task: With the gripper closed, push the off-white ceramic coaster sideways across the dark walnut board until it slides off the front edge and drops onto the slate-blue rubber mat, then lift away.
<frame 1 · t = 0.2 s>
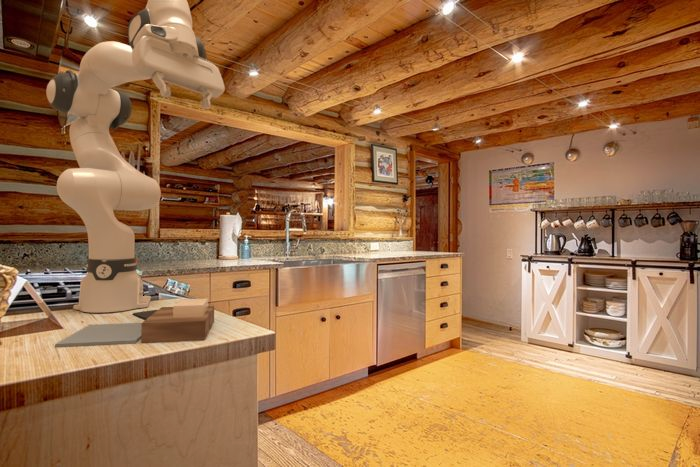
hand: (187, 101, 85), 52 cm above the worktop, tool tilted 20°, fingers open, 8 cm apart
smartphone: (156, 319, 98), on the worktop
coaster: (191, 307, 85), point 5 cm above the worktop, touching deck
mat: (111, 334, 81), on the worktop
deck: (181, 331, 85), on the worktop
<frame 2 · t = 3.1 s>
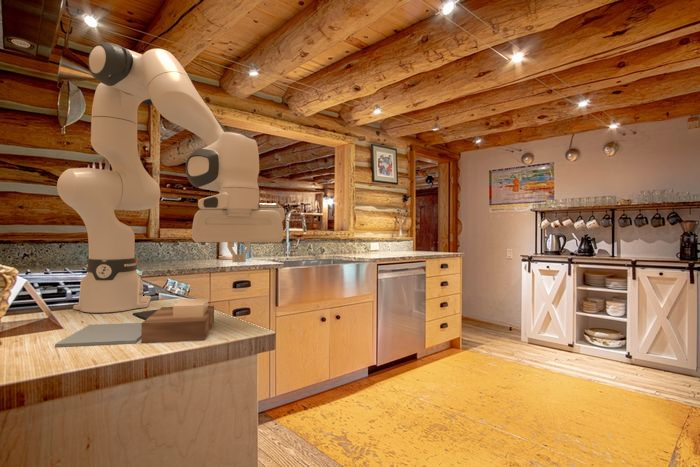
hand: (239, 262, 87), 16 cm above the worktop, tool pointing down, fingers closed
nothing on the worktop moved.
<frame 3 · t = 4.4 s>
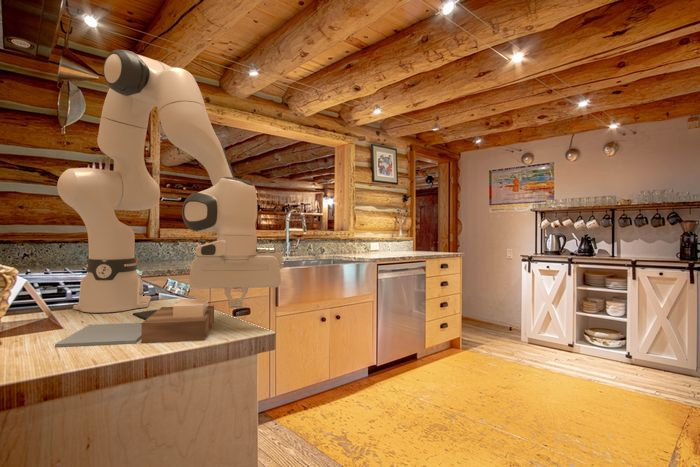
hand: (236, 307, 88), 5 cm above the worktop, tool pointing down, fingers closed
nothing on the worktop moved.
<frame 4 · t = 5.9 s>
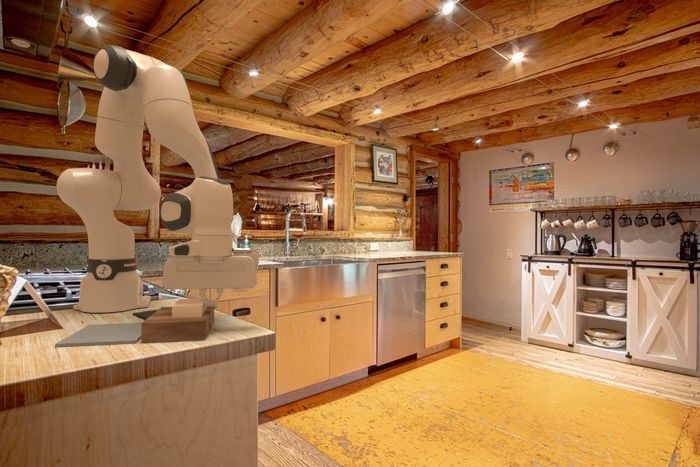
hand: (211, 308, 87), 5 cm above the worktop, tool pointing down, fingers closed
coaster: (190, 307, 85), point 5 cm above the worktop, touching deck, gripper
everything else where it was.
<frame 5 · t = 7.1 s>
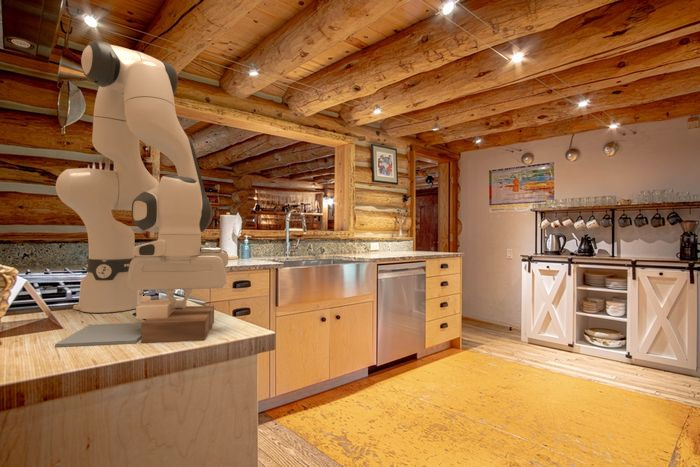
hand: (178, 308, 85), 5 cm above the worktop, tool pointing down, fingers closed
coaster: (156, 308, 84), point 5 cm above the worktop, touching gripper
everything else where it was.
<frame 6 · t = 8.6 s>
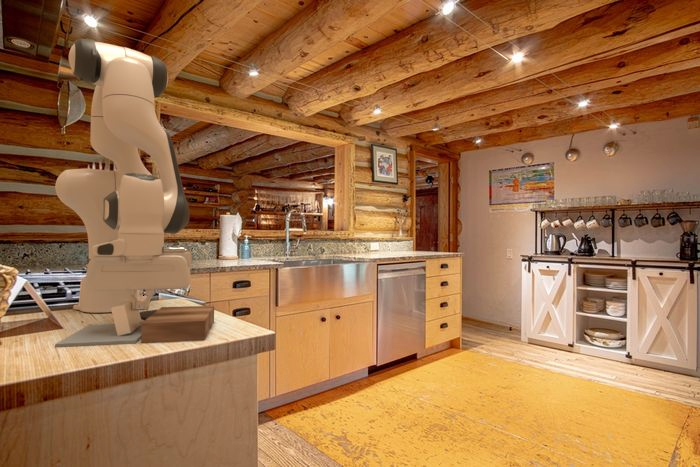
hand: (140, 309, 83), 5 cm above the worktop, tool pointing down, fingers closed
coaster: (127, 316, 82), point 4 cm above the worktop, tilted 103°, touching gripper, mat
everything else where it was.
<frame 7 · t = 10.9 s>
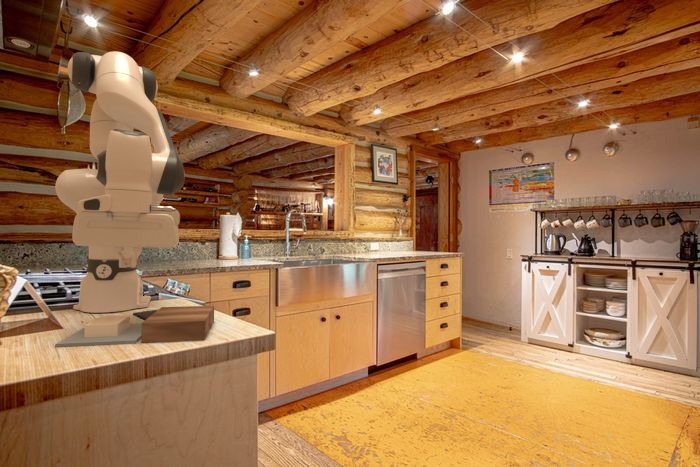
hand: (127, 267, 83), 14 cm above the worktop, tool pointing down, fingers closed
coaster: (108, 325, 81), point 2 cm above the worktop, tilted 180°, touching mat
everything else where it was.
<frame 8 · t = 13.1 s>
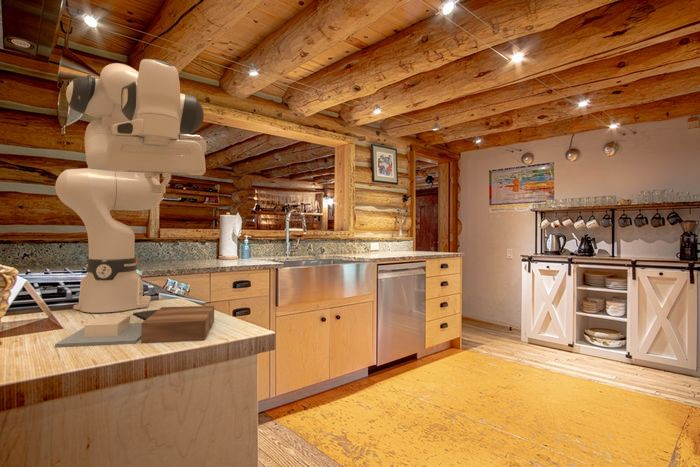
hand: (157, 193, 86), 31 cm above the worktop, tool pointing down, fingers closed
nothing on the worktop moved.
at the end: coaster inside the target area (0.7 cm from its centre), point 1.8 cm above the worktop; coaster touching mat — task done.
